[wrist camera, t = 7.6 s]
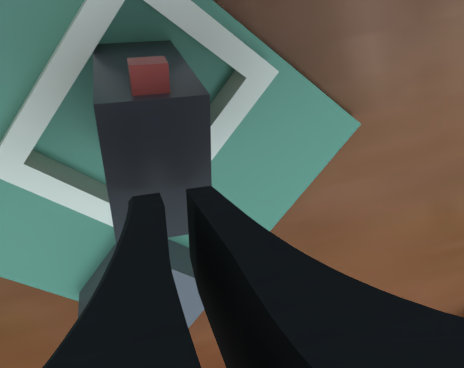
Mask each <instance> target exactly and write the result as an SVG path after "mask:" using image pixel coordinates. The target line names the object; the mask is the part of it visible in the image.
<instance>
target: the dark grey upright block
mask: <svg viewBox="0 0 464 368" xmlns="http://www.w3.org/2000/svg"><path fill="white" fill-rule="evenodd" d="M93 107H94V113H95V119H96V125H97V131H98V137H99V143H100V149H101V155H102V161H103V167H104V173H105V179H106V185H107V191H108V197H109V203H110V209H111V215H112V221H113V228H114V234H115V240H116V246H117V243H118V240H119V238H120V235H121V233H122V230H123V227H124V223H125V220H126V216H127V211H128V201H129V200H130V199H131V198H132V197H133V196H139V195H146V194H154V193H160V195H161V198H162V200H163V203H164V206H165V215H166V225H167V236H168V238H170V237H176V236H182V235H188V217H187V199H186V189H190V188H198V187H205V186H212V176H211V127H210V94H209V93H208V91H207V90H206V89H205V87H204V86H203V84H202V83H201V82H200V80H199V79H198V78H197V76H196V75H195V73H194V72H193V71H192V69H191V68H190V67H189V65H188V64H187V63H186V61H185V60H184V58H183V57H182V56H181V54H180V53H179V52H178V50H177V49H176V47H175V46H174V45H173V43H172V42H171V41H170V40H167V41H147V42H128V43H108V44H97V46H96V48H95V49H94V51H93Z"/></svg>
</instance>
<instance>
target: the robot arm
mask: <svg viewBox="0 0 464 368" xmlns="http://www.w3.org/2000/svg"><path fill="white" fill-rule="evenodd" d="M186 199H187V217H188V235H189V252H190V260H191V264H192V269H193V273H194V277H195V281H196V285H197V289H198V293H199V296H200V298H201V301H202V304H203V307H204V309H205V312H206V315H207V317H208V320H209V323H210V325H211V328H212V331H213V333H214V336H215V339H216V341H217V344H218V346H219V349H220V352H221V354H222V357H223V360H224V362H225V365H226V368H464V318H463V317H459V316H456V315H452V314H448V313H445V312H442V311H438V310H435V309H432V308H429V307H426V306H423V305H421V304H418V303H415V302H412V301H409V300H406V299H403V298H400V297H398V296H395V295H392V294H390V293H387V292H385V291H382V290H379V289H377V288H375V287H372V286H370V285H368V284H365V283H363V282H361V281H358V280H356V279H354V278H351V277H349V276H347V275H345V274H343V273H341V272H339V271H336V270H334V269H332V268H330V267H328V266H327V265H325V264H323V263H321V262H319V261H317V260H315V259H313V258H312V257H310V256H308V255H306V254H304V253H303V252H301V251H299V250H298V249H296V248H294V247H293V246H291V245H289V244H288V243H286V242H285V241H283V240H282V239H280V238H279V237H277V236H276V235H274V234H273V233H271V232H270V231H268V230H267V229H265V228H264V227H263V226H261V225H260V224H258V223H257V222H256V221H254V220H253V219H252V218H250V217H249V216H248V215H247V214H245V213H244V212H243V211H242V210H240V209H239V208H238V207H237V206H235V205H234V204H233V203H232V202H230V201H229V200H228V199H227V198H226V197H224V196H223V195H222V194H221V193H220V192H218V191H217V190H216V189H215V188H213V187H212V186H205V187H198V188H190V189H186ZM42 368H201V366H200V363H199V360H198V357H197V354H196V351H195V348H194V345H193V342H192V339H191V336H190V332H189V329H188V326H187V322H186V319H185V316H184V313H183V309H182V306H181V303H180V299H179V296H178V292H177V288H176V285H175V281H174V278H173V274H172V269H171V263H170V257H169V246H168V236H167V225H166V215H165V206H164V203H163V200H162V198H161V195H160V193H154V194H146V195H139V196H133V197H132V198H131V199H130V200H129V201H128V211H127V216H126V220H125V223H124V227H123V230H122V233H121V235H120V238H119V240H118V243H117V246H116V248H115V251H114V253H113V256H112V258H111V260H110V262H109V264H108V266H107V268H106V270H105V272H104V274H103V276H102V279H101V281H100V282H99V284H98V286H97V288H96V290H95V292H94V293H93V295H92V297H91V299H90V300H89V302H88V304H87V305H86V307H85V308H84V310H83V312H82V313H81V315H80V316H79V318H78V319H77V321H76V322H75V324H74V325H73V327H72V328H71V330H70V331H69V332H68V334H67V335H66V337H65V338H64V340H63V341H62V343H61V344H60V345H59V347H58V348H57V349H56V351H55V352H54V353H53V355H52V356H51V357H50V359H49V360H48V361H47V363H46V364H45V365H44V366H43V367H42Z"/></svg>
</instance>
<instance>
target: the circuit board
mask: <svg viewBox="0 0 464 368" xmlns="http://www.w3.org/2000/svg"><path fill="white" fill-rule="evenodd" d="M167 40H170V41H171V42H172V43H173V45H174V46H175V47H176V49H177V50H178V52H179V53H180V54H181V56H182V57H183V58H184V60H185V61H186V63H187V64H188V65H189V67H190V68H191V69H192V71H193V72H194V73H195V75H196V76H197V78H198V79H199V80H200V82H201V83H202V84H203V86H204V87H205V89H206V90H207V91H208V93H209V94H210V127H211V176H212V187H213V188H215V189H216V190H217V191H218V192H220V193H221V194H222V195H223V196H224V197H226V198H227V199H228V200H229V201H230V202H232V203H233V204H234V205H235V206H237V207H238V208H239V209H240V210H242V211H243V212H244V213H245V214H247V215H248V216H249V217H250V218H252V219H253V220H254V221H256V222H257V223H258V224H260V225H261V226H263V227H264V228H265V229H267V230H268V231H270V230H271V229H272V228H273V227H274V226H275V225H276V223H277V222H278V221H279V220H280V219H281V218H282V216H283V215H284V214H285V213H286V212H287V211H288V209H289V208H290V207H291V206H292V205H293V203H294V202H295V201H296V200H297V199H298V198H299V196H300V195H301V194H302V193H303V192H304V191H305V189H306V188H307V187H308V186H309V185H310V184H311V182H312V181H313V180H314V179H315V178H316V176H317V175H318V174H319V173H320V172H321V171H322V169H323V168H324V167H325V166H326V165H327V164H328V162H329V161H330V160H331V159H332V158H333V156H334V155H335V154H336V153H337V152H338V151H339V149H340V148H341V147H342V146H343V145H344V144H345V142H346V141H347V140H348V139H349V138H350V137H351V135H352V134H353V133H354V132H355V131H356V129H357V128H358V127H359V126H360V125H361V124H360V123H359V122H358V121H357V120H356V119H354V118H353V117H352V116H351V115H350V114H348V113H347V112H346V111H345V110H344V109H342V108H341V107H340V106H339V105H338V104H336V103H335V102H334V101H333V100H332V99H330V98H329V97H328V96H327V95H326V94H324V93H323V92H322V91H321V90H320V89H318V88H317V87H316V86H315V85H314V84H312V83H311V82H310V81H309V80H308V79H306V78H305V77H304V76H303V75H302V74H300V73H299V72H298V71H297V70H296V69H294V68H293V67H292V66H291V65H290V64H288V63H287V62H286V61H285V60H284V59H282V58H281V57H280V56H279V55H278V54H276V53H275V52H274V51H273V50H272V49H270V48H269V47H268V46H267V45H266V44H264V43H263V42H262V41H261V40H260V39H258V38H257V37H256V36H255V35H254V34H252V33H251V32H250V31H249V30H248V29H246V28H245V27H244V26H243V25H242V24H240V23H239V22H238V21H237V20H236V19H234V18H233V17H232V16H231V15H230V14H228V13H227V12H226V11H225V10H224V9H222V8H221V7H220V6H219V5H218V4H216V3H215V2H214V1H213V0H0V277H3V278H6V279H9V280H13V281H16V282H19V283H22V284H25V285H28V286H32V287H35V288H38V289H41V290H44V291H48V292H51V293H54V294H57V295H60V296H64V297H67V298H70V299H73V300H76V301H79V310H78V318H79V316H80V315H81V313H82V312H83V310H84V308H85V307H86V305H87V304H88V302H89V300H90V299H91V297H92V295H93V293H94V292H95V290H96V288H97V286H98V284H99V282H100V281H101V279H102V276H103V274H104V272H105V270H106V268H107V266H108V264H109V262H110V260H111V258H112V256H113V253H114V251H115V248H116V240H115V234H114V228H113V221H112V215H111V209H110V203H109V197H108V191H107V185H106V179H105V173H104V167H103V161H102V155H101V149H100V143H99V137H98V131H97V125H96V119H95V113H94V107H93V51H94V49H95V48H96V46H97V44H108V43H128V42H147V41H167ZM168 246H169V257H170V263H171V269H172V274H173V278H174V281H175V285H176V288H177V292H178V296H179V299H180V303H181V306H182V309H183V313H184V316H185V319H186V322H187V326H188V328H189V327H190V325H191V324H192V323H193V322H194V321H195V320H196V318H197V317H198V316H199V315H200V314H201V313H202V311H203V310H204V307H203V304H202V301H201V298H200V296H199V293H198V289H197V285H196V281H195V277H194V273H193V269H192V264H191V260H190V252H189V235H182V236H176V237H170V238H168Z"/></svg>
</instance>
